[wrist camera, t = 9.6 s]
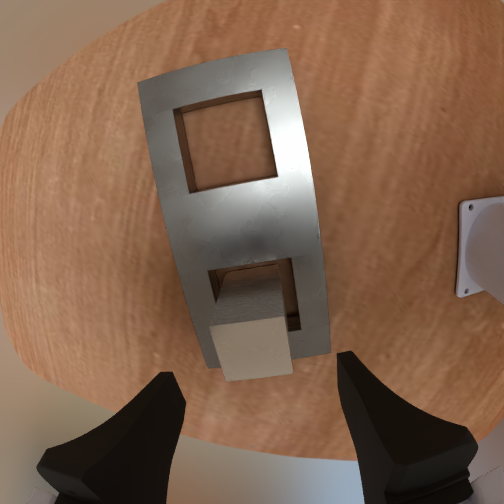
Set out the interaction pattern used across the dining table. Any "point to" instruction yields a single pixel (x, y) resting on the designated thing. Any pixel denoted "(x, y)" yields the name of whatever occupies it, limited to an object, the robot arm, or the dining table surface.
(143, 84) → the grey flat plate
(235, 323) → the grey square peg
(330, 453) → the dining table surface
